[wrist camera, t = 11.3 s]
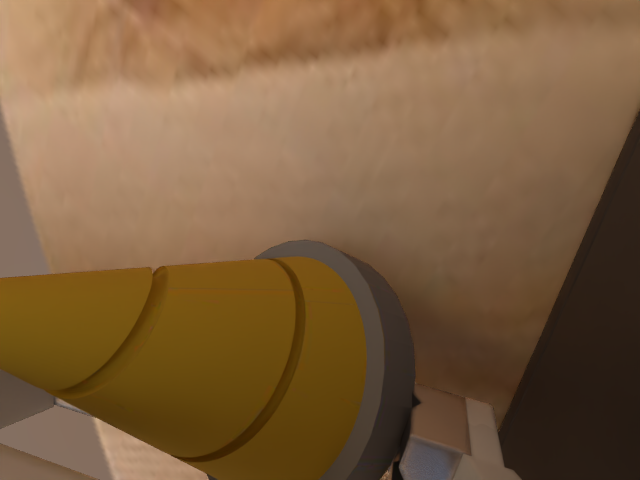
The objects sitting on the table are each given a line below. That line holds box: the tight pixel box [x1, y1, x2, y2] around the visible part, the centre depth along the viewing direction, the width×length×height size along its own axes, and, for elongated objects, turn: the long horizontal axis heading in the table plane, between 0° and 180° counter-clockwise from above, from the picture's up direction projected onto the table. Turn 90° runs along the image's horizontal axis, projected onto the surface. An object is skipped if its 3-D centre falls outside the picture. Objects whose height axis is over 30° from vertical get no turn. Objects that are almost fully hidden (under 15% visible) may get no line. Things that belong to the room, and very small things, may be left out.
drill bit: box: [0, 240, 415, 480], centre depth 9 cm, size 5×5×10 cm
